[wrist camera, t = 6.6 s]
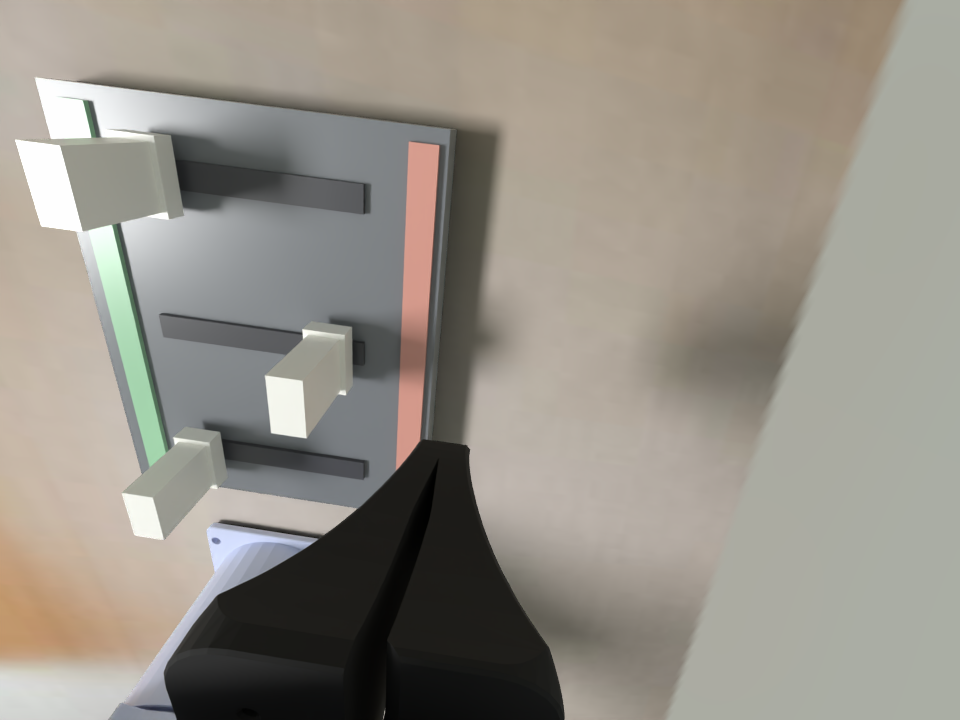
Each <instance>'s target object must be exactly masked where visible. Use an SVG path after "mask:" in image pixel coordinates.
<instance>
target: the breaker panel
mask: <svg viewBox="0 0 960 720" xmlns="http://www.w3.org/2000/svg"><path fill="white" fill-rule="evenodd" d="M35 80H36V84H37V88H38V92H39V95H40V99H41V103H42V106H43V110H44V114H45V117H46V121H47V125H48V129H49V132H50V136H51V139H64V138H100V137H106V132H105V129H126V130H134V131H142V132H149V133H157V134H165V135H171V140H172V146H173V152H174V158H175V164H176V170H177V176H178V182H179V188H180V194H181V200H182V206H183V212H184V216H181V217H177V218H173V219H169V220H168V219H160V218H153V217H143V218H138V219H134V220H130V221H126V222H121V223H117V224H113V225H109V226H105V227H100V228H96V229H92V230H88V231H84V232H81V231H76V232H77V236H78V240H79V243H80V247H81V251H82V254H83V258H84V262H85V265H86V269H87V273H88V277H89V280H90V284H91V288H92V291H93V295H94V299H95V302H96V306H97V310H98V314H99V317H100V321H101V325H102V328H103V332H104V336H105V339H106V343H107V347H108V351H109V354H110V358H111V362H112V365H113V369H114V373H115V376H116V380H117V384H118V388H119V391H120V395H121V399H122V402H123V406H124V410H125V413H126V417H127V421H128V425H129V428H130V432H131V436H132V439H133V443H134V447H135V450H136V454H137V458H138V462H139V465H140V469H141V473H142V474H143V473H144V472H145V471H147V470H148V469H149V468H150V467H151V466H152V465H153V464H154V463H155V462H157V461H158V460H159V459H160V458H161V457H162V456H163V455H164V454H165V453H167V452H168V451H169V450H170V449H171V448H172V447H173V446H174V445H175V443H174V438H173V437H174V436H175V435H176V434H178V433H179V432H180V431H181V430H182V429H183V428H184V427H190V428H197V429H204V430H210V431H217V432H220V434H221V440H222V446H223V452H224V458H225V464H226V470H227V476H228V478H227V479H226V480H225V481H224V482H223V483H222V484H221V486H220V487H223V488H230V489H236V490H243V491H249V492H256V493H262V494H269V495H275V496H282V497H288V498H295V499H301V500H308V501H314V502H321V503H327V504H334V505H340V506H347V507H353V508H359V507H360V506H361V505H362V504H363V503H365V502H366V501H367V500H368V499H369V498H370V497H371V496H372V495H373V494H374V493H375V492H376V491H377V490H378V489H379V488H380V487H381V486H382V485H383V484H384V483H385V482H386V481H387V480H388V479H389V478H390V477H391V476H392V474H393V473H394V472H395V471H396V470H397V469H398V468H399V467H400V466H401V464H402V463H403V462H404V461H405V460H406V459H407V457H408V456H409V455H410V454H411V452H412V451H413V450H414V448H415V447H416V446H417V444H418V443H419V442H420V441H421V440H423V439H426V440H432V435H433V422H434V410H435V397H436V385H437V372H438V360H439V347H440V335H441V322H442V310H443V297H444V285H445V272H446V260H447V247H448V235H449V222H450V210H451V197H452V185H453V172H454V160H455V147H456V135H457V129H452V128H444V127H436V126H428V125H420V124H412V123H404V122H396V121H388V120H380V119H372V118H364V117H356V116H348V115H340V114H332V113H324V112H316V111H308V110H300V109H292V108H284V107H276V106H268V105H260V104H252V103H244V102H236V101H228V100H220V99H212V98H204V97H196V96H188V95H181V94H173V93H165V92H157V91H149V90H141V89H133V88H125V87H117V86H109V85H101V84H93V83H85V82H77V81H67V80H57V79H47V78H37V77H35ZM311 321H313V322H321V323H328V324H335V325H342V326H349V327H352V364H353V386H352V387H351V389H350V390H349V392H348V393H347V395H340V394H338V395H337V396H336V398H335V399H334V401H333V402H332V403H331V405H330V406H329V408H328V409H327V410H326V412H325V413H324V415H323V416H322V417H321V419H320V420H319V422H318V423H317V424H316V426H315V427H314V429H313V430H312V431H311V433H310V434H309V436H308V437H307V438H300V437H293V436H287V435H280V434H273V433H271V427H270V417H269V408H268V399H267V389H266V380H265V375H266V374H267V373H268V372H269V371H270V370H271V369H272V368H273V367H274V366H275V365H277V364H278V363H279V362H280V361H281V360H282V359H283V358H284V357H285V356H286V355H287V354H288V353H289V352H290V351H291V350H292V349H293V348H295V347H296V346H297V345H298V344H299V343H300V342H301V341H302V340H303V331H302V329H303V328H304V327H305V326H306V325H308V324H309V323H310V322H311Z"/></svg>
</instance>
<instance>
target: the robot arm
mask: <svg viewBox="0 0 960 720" xmlns="http://www.w3.org/2000/svg"><path fill="white" fill-rule="evenodd" d="M469 454H470V449H469V448H468V447H467V445H461V444H454V443H447V442H440V441H433V440H426V439H423V440H421V441H420V442H419V443H418V444H417V446H416V447H415V448H414V450H413V451H412V452H411V454H410V455H409V456H408V457H407V459H406V460H405V461H404V462H403V463H402V464H401V466H400V467H399V468H398V469H397V470H396V471H395V472H394V473H393V474H392V476H391V477H390V478H389V479H388V480H387V481H386V482H385V483H384V484H383V485H382V486H381V487H380V488H379V489H378V490H377V491H376V492H375V493H374V494H373V495H372V496H371V497H370V498H369V499H368V500H367V501H366V502H365V503H363V504H362V505H361V506H360V507H359V508H358V509H357V510H356V511H354V512H353V513H352V514H351V515H350V516H348V517H347V518H346V519H345V520H343V521H342V522H341V523H340V524H338V525H337V526H336V527H335V528H333V529H332V530H331V531H329V532H328V533H326V534H325V535H324V536H322V537H321V538H319V539H317V538H310V537H304V536H298V535H291V534H285V533H278V532H272V531H266V530H259V529H253V528H247V527H240V526H234V525H228V524H221V523H213V524H211V525H210V527H209V528H208V529H207V536H208V541H209V546H210V551H211V556H212V561H213V565H214V570H215V573H214V575H213V576H212V578H211V579H210V580H209V582H208V583H207V585H206V586H205V588H204V589H203V590H202V592H201V593H200V595H199V596H198V597H197V599H196V600H195V602H194V603H193V605H192V606H191V607H190V609H189V610H188V612H187V613H186V615H185V616H184V617H183V619H182V620H181V622H180V623H179V624H178V626H177V627H176V629H175V630H174V632H173V633H172V634H171V636H170V637H169V639H168V640H167V642H166V643H165V644H164V646H163V647H162V649H161V650H160V651H159V653H158V654H157V656H156V657H155V659H154V660H153V661H152V663H151V664H150V666H149V667H148V668H147V670H146V671H145V673H144V674H143V676H142V677H141V678H140V680H139V681H138V683H137V684H136V686H135V687H134V688H133V690H132V691H131V693H130V694H129V695H128V697H127V698H126V700H125V701H124V703H120V704H119V705H118V707H117V708H116V709H115V711H114V712H113V714H112V715H111V717H110V718H109V719H108V720H564V718H565V716H564V705H563V699H562V693H561V689H560V684H559V680H558V676H557V672H556V669H555V665H554V662H553V659H552V655H551V652H550V649H549V647H548V645H547V644H546V643H545V641H544V640H543V638H542V637H541V636H540V634H539V633H538V631H537V630H536V628H535V627H534V625H533V624H532V622H531V621H530V619H529V618H528V616H527V615H526V613H525V611H524V610H523V608H522V607H521V605H520V603H519V602H518V600H517V598H516V597H515V595H514V593H513V591H512V589H511V587H510V585H509V583H508V582H507V580H506V578H505V576H504V574H503V572H502V570H501V568H500V566H499V564H498V562H497V559H496V557H495V555H494V553H493V550H492V548H491V545H490V543H489V541H488V538H487V535H486V533H485V530H484V527H483V524H482V521H481V517H480V514H479V511H478V507H477V504H476V500H475V495H474V491H473V487H472V481H471V475H470V467H469ZM384 711H385V715H384ZM383 716H384V719H383Z"/></svg>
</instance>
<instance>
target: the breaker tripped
mask: <svg viewBox="0 0 960 720" xmlns="http://www.w3.org/2000/svg"><path fill="white" fill-rule="evenodd" d="M302 331H303V340H302V341H301V342H300V343H299V344H298V345H297V346H296V347H295V348H293V349H292V350H291V351H290V352H289V353H288V354H287V355H286V356H285V357H284V358H283V359H282V360H281V361H280V362H279V363H278V364H277V365H275V366H274V367H273V368H272V369H271V370H270V371H269V372H268V373H267V374H266V375H265V380H266V389H267V399H268V408H269V417H270V427H271V433H273V434H280V435H287V436H293V437H300V438H307V437H308V436H309V434H310V433H311V431H312V430H313V429H314V427H315V426H316V424H317V423H318V422H319V420H320V419H321V417H322V416H323V415H324V413H325V412H326V410H327V409H328V408H329V406H330V405H331V403H332V402H333V401H334V399H335V398H336V396H337V395H338V394H340V395H347V393H348V392H349V390H350V389H351V387H352V386H353V364H352V327H349V326H342V325H335V324H328V323H321V322H313V321H311V322H310V323H309V324H308V325H306V326H305V327H304V328H303V329H302Z"/></svg>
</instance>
